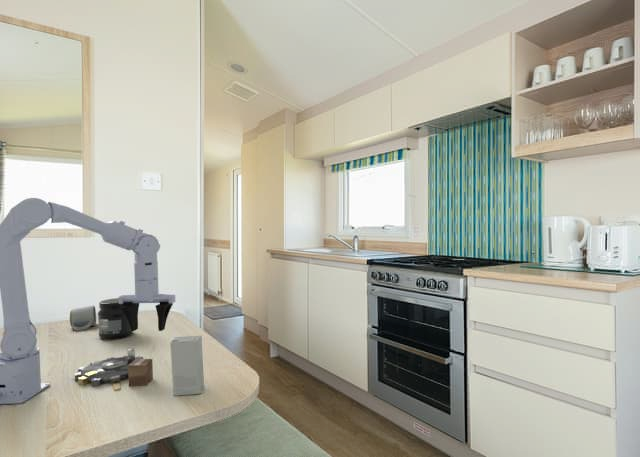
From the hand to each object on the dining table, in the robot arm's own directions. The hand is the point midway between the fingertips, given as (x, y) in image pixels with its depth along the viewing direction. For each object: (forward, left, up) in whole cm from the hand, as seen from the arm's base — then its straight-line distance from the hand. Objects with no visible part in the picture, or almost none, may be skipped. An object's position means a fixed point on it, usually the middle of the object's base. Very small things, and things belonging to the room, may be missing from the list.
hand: (148, 330), depth 105 cm
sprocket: (-4, +7, -9) cm, 13 cm away
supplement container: (+29, +22, -10) cm, 38 cm away
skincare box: (-17, -16, -10) cm, 25 cm away
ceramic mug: (+41, +40, -10) cm, 58 cm away
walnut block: (-11, -3, -10) cm, 15 cm away
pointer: (-14, +2, -9) cm, 17 cm away
